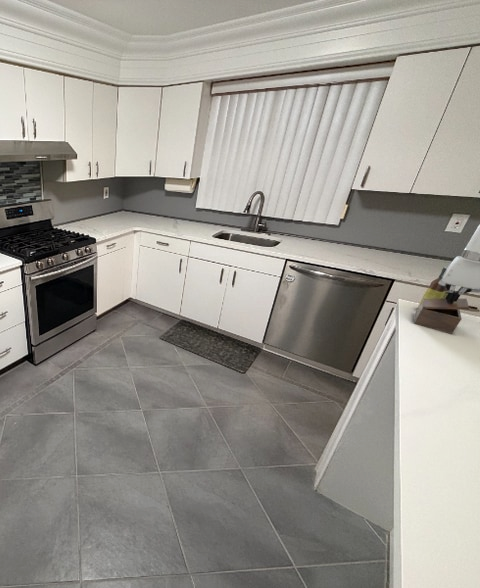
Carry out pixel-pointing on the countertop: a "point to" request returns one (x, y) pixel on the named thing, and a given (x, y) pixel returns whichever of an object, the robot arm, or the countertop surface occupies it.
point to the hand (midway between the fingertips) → (449, 301)
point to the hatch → (444, 304)
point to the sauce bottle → (436, 289)
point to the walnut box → (438, 318)
